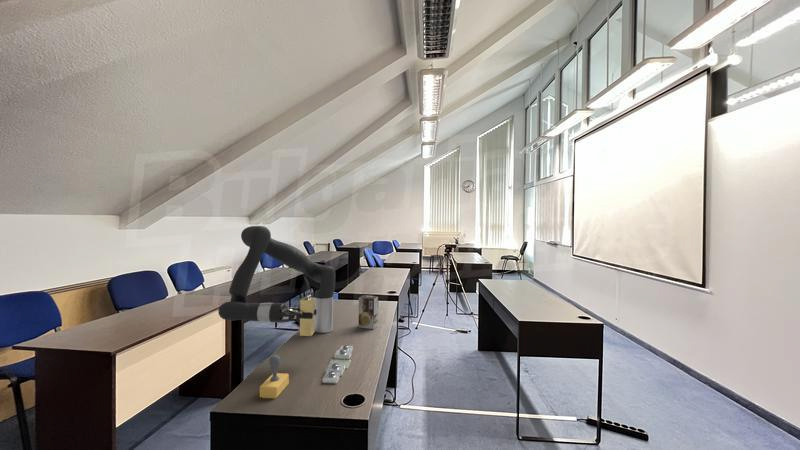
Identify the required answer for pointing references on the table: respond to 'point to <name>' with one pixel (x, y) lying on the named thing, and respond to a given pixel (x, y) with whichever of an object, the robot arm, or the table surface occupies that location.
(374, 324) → the coffee box
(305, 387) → the table surface
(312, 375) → the table surface
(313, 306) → the tall studded toy brick
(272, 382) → the yellow handled block
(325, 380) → the studded plate chain
